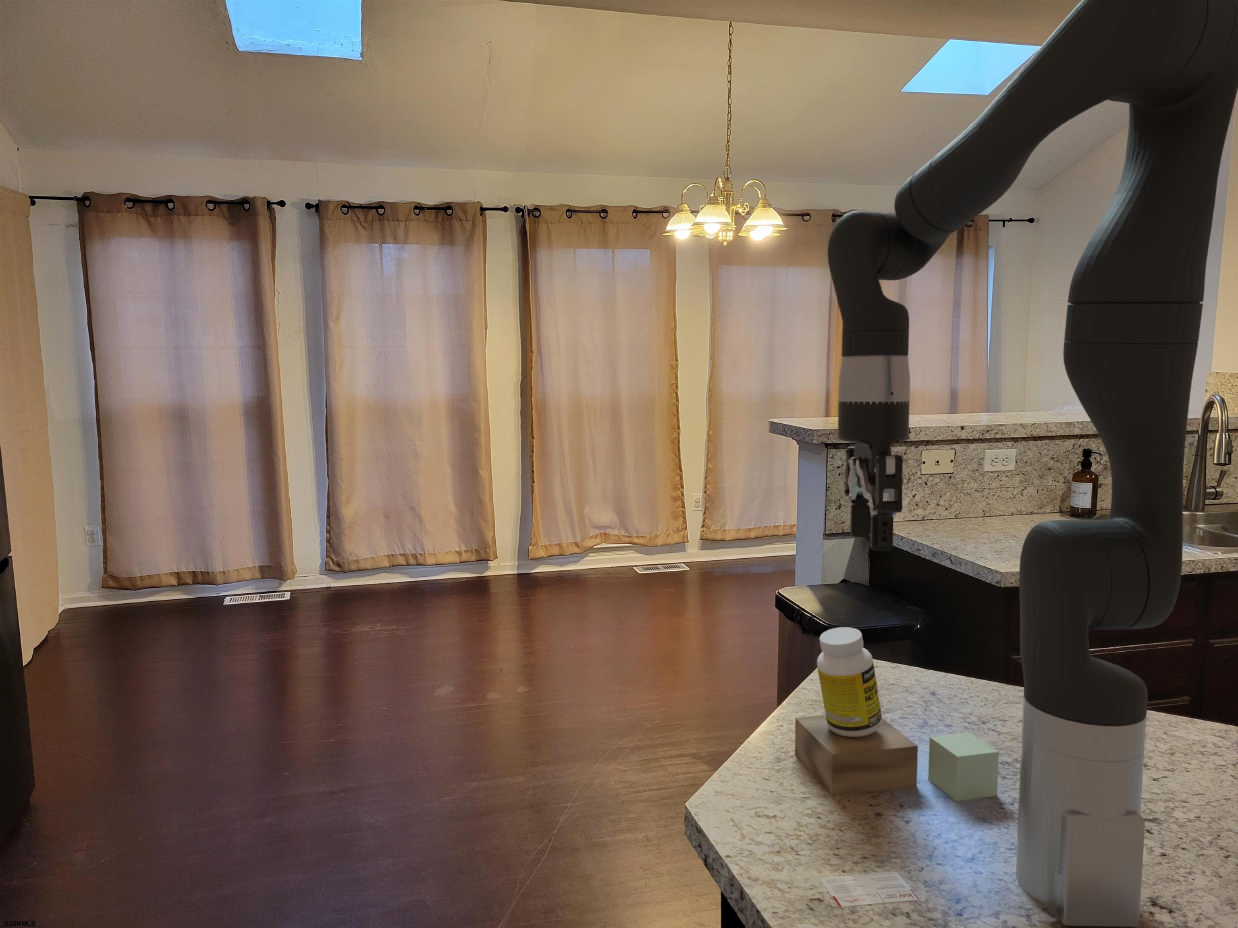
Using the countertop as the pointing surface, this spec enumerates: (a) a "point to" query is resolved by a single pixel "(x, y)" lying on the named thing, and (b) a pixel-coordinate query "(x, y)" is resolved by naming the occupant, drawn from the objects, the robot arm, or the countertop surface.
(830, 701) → the pill bottle
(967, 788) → the sage cube
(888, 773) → the walnut block
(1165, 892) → the countertop surface
